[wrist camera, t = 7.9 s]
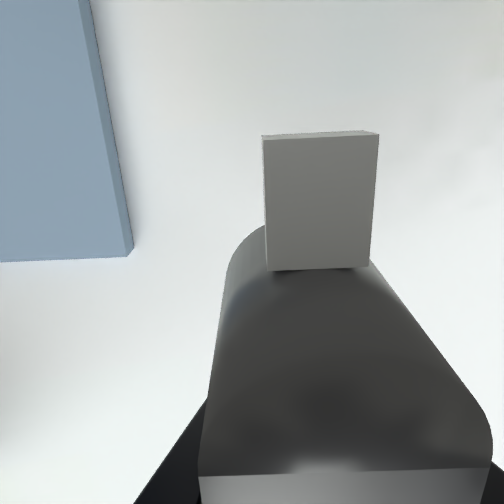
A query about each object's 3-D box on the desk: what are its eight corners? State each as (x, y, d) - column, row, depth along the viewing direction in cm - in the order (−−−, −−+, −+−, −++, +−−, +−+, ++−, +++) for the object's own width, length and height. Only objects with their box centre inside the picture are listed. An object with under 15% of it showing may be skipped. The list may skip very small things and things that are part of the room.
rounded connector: (353, 472, 12) (419, 713, 7) (241, 475, 12) (234, 717, 7) (382, 121, 8) (580, 149, 3) (211, 129, 8) (153, 168, 3)
